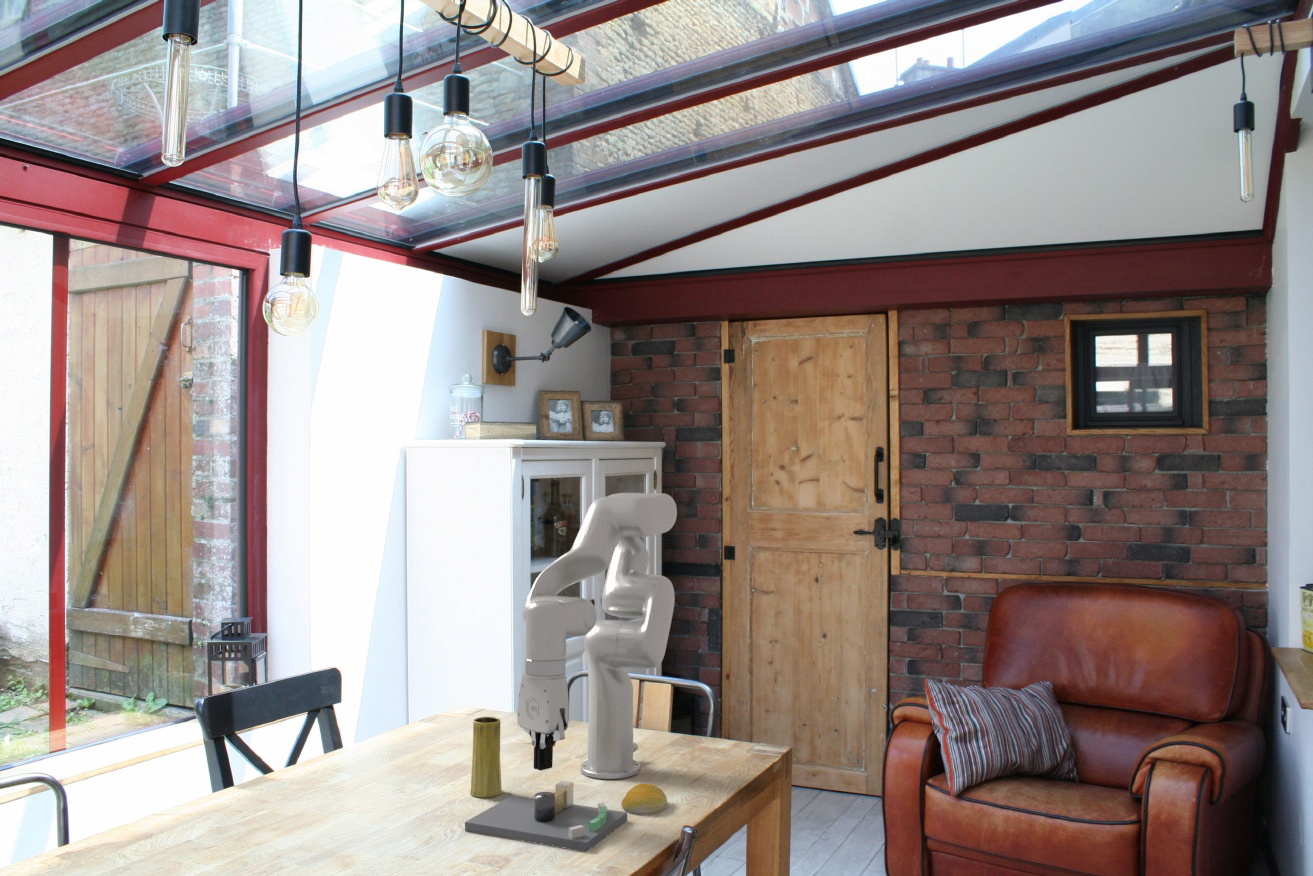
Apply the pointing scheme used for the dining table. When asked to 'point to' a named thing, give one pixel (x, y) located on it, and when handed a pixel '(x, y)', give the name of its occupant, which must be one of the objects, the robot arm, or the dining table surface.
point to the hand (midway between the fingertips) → (543, 768)
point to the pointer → (553, 801)
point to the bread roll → (644, 799)
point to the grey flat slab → (548, 823)
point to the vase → (486, 758)
